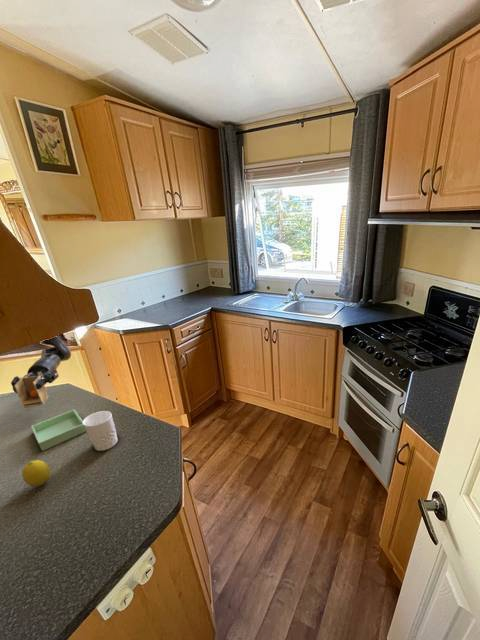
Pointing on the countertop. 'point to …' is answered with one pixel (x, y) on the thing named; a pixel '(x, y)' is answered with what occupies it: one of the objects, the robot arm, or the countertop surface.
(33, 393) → the ball
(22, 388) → the open wooden box
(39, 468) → the lemon
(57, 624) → the countertop surface
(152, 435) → the countertop surface
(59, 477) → the countertop surface
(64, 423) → the tray
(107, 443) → the white cup
